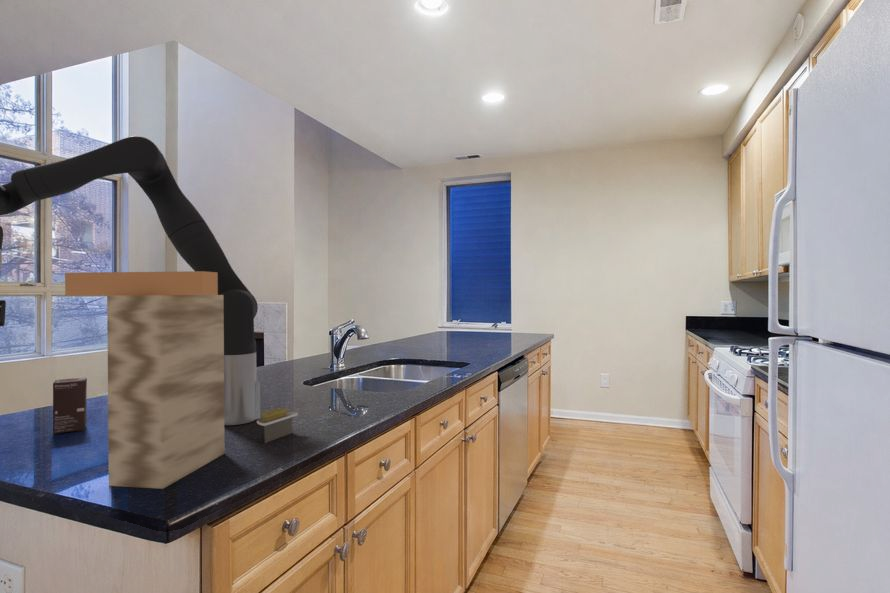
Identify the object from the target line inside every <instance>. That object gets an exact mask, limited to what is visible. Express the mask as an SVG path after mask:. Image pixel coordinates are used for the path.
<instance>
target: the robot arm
mask: <svg viewBox="0 0 890 593" xmlns="http://www.w3.org/2000/svg"><path fill="white" fill-rule="evenodd" d="M120 174H128V175H129V176H130V177H131V178H132V179H133V180H134V181H135V182H136V183H137V185H139V188H141V189H142V192H144V194H145V195H146V197H148V200H150V202H151V203H152V205H153V207H154V209H155V211H156V214H157V217H158V220H159V223H160V224H161V227H162V228H163V230H164V233H165V234H166V236H167V238H168V239H169V241H170V242H171V243H172V245H173V247H174V248H175V249H176V252H177V253H178V254H179V256H180V257H181V258H182V259H183V261H185V262H186V264H187V265H188V266H189V267H190V268H191V269H192V271H205V272H218V295H223V298H224V426H237V425H239V426H240V425H243V424H244V425H245V424H250V423H252V422H254V421H257V420H258V419H261V382H260V381H259V380H257V341H256V338H255V317H256V316H257V313H258V310H259V306H258V302H257V300H256V297H254V295H253V294H252V292H251V291H250V290H249V289H248V288H247V286H245V284H244V282H243V281H242V280H241V279H240V278H239V276H238V275H237V273H236V272H235V270H234V269H233V268H232V266H231V264H230V262H229V260H228V258H227V256H226V255H225V252H224V251H223V249H222V248H221V245H220V244H219V242H218V240H217V239H216V237H215V235H214V233H213V231H212V230H211V229H210V226H208V224H207V222H206V221H205V219H204V218H203V217H202V215H201V213H199V211H198V209H197V208H196V207H195V206H194V205H193V203H192V202H191V201H190V200H189V199H188V198H187V196H185V194H184V192H183V191H182V190H181V188H180V186H179V185H178V182H177V181H176V179H175V177H174V176H173V175H174V174H172V171H171V170H170V167H169V165H168V163H167V160H166V158H165V157H164V154H163V153H162V151H161V150H160V149H159V147H158V146H157V145H156V144H155V143H154V142H153V141H152V140H151V139H149V138H147V137H144V136H140V135H132V136H127V137H123V138H121V139H119V140H117V141H113V142H111V143H109V144H107V145H104V146H101V147H99V148H96V149H92V150H91V151H88V152H84V153H82V154H79V155H75V156H73V157H69V158H66V159H62V160H57V161H55V162H50V163H47V164H42V165H37V166H32V167H29V168H25V169H19V170H16V171H15V172H13V173H12V174H11V175H10V182H8V183H5V184H0V216H6V215H10V214H13V213H15V212H17V211H20V210H21V209H23V208H25V207H27V206H30V205H31V204H33V203H34V202H37V201H42V200H45V199H50V198H55V197H58V196H62V195H65V194H68V193H71V192H74V191H76V190H79V188H82V187H84V186H85V185H87V184H89V183H91V182H93V181H96V180H98V179H100V178H101V179H102V178H104V177H108V176H113V175H120ZM3 241H4V229H3V227H2V225H1V224H0V275H1V273H2V264H3V256H2V254H3V253H2V251H3ZM6 307H7V302H6V300H4V299H0V327H4V326H5V321H6Z"/></svg>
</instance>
